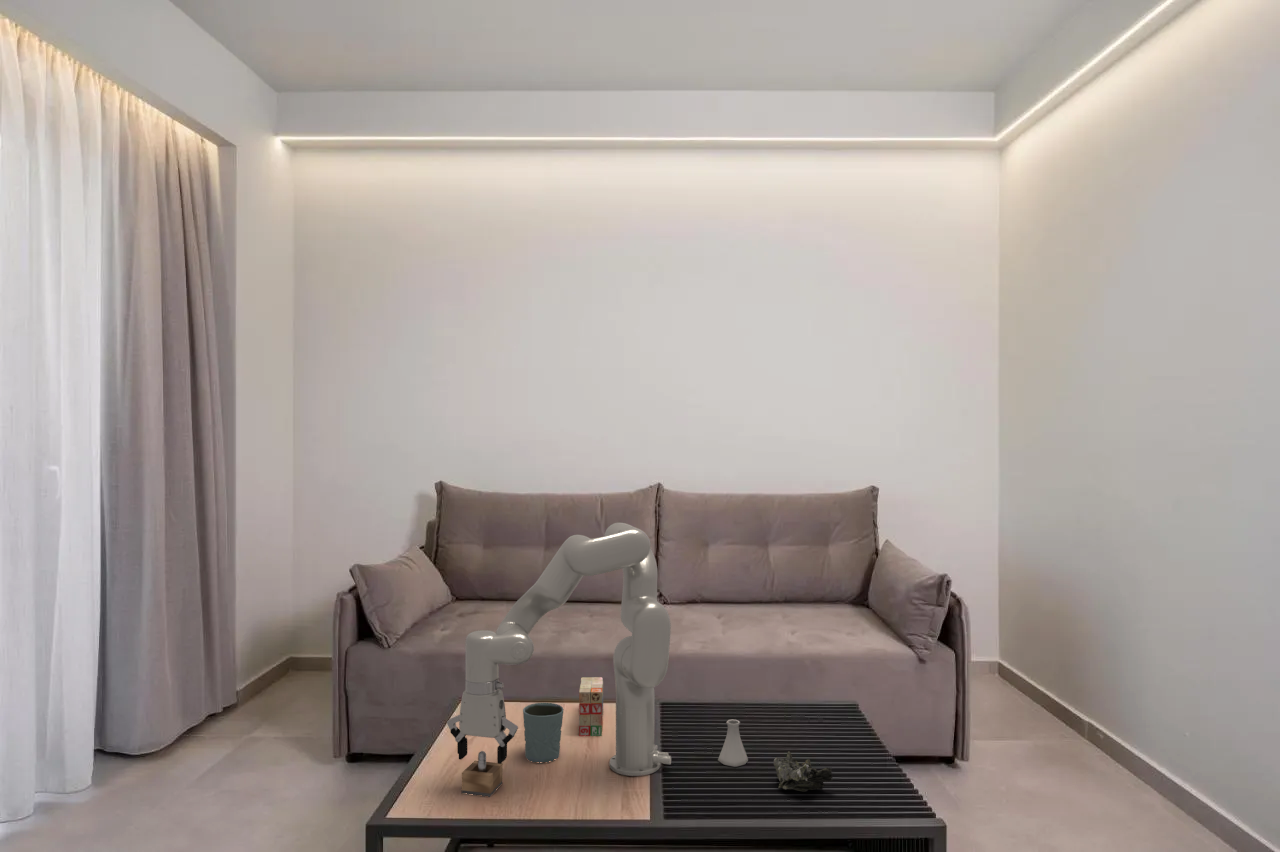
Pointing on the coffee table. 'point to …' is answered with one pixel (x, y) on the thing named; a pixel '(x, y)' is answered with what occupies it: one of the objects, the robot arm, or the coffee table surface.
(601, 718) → the stack of blocks
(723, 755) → the flask
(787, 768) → the mineral specimen
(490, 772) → the square wooden ring
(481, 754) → the peg stand
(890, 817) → the coffee table surface
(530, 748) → the teal cup
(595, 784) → the coffee table surface
